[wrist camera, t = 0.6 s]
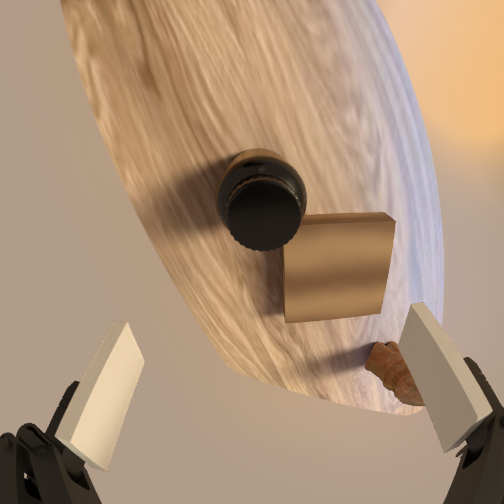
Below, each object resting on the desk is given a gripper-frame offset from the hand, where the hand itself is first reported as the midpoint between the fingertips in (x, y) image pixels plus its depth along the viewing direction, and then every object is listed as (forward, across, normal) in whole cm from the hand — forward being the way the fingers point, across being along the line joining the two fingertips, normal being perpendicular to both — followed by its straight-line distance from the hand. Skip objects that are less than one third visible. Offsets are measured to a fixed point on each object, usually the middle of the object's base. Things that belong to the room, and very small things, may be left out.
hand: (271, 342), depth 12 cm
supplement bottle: (+19, 0, +3) cm, 20 cm away
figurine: (+19, +19, -22) cm, 35 cm away
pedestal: (+19, +8, -7) cm, 22 cm away
